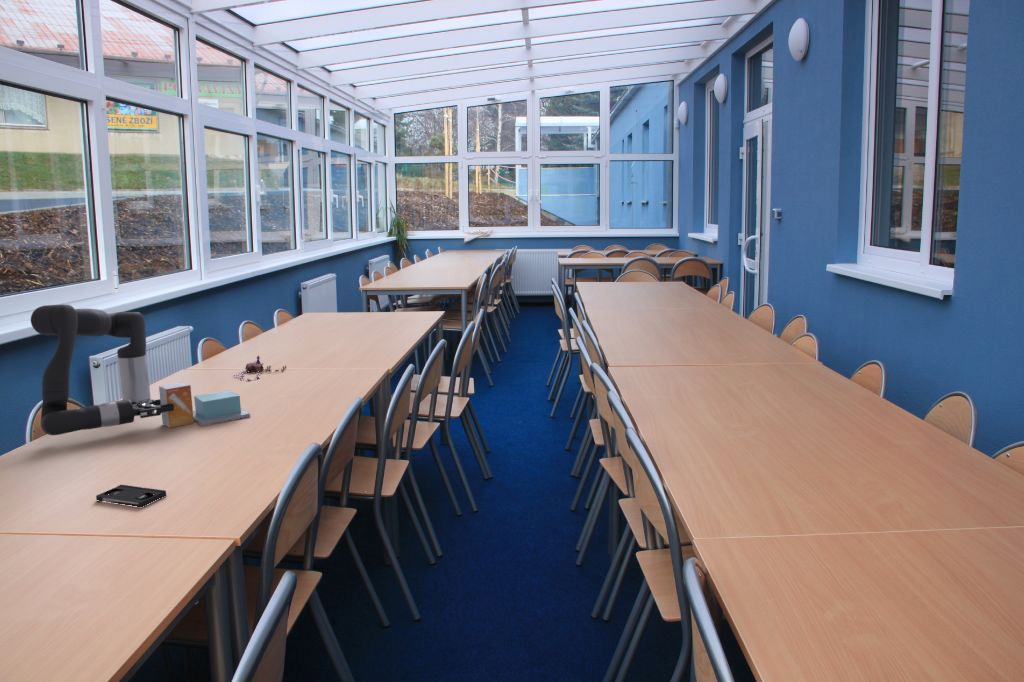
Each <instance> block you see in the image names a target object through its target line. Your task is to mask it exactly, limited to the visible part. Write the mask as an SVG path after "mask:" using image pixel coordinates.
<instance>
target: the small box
mask: <svg viewBox="0 0 1024 682" xmlns="http://www.w3.org/2000/svg"><path fill="white" fill-rule="evenodd" d="M158 393H159V399H160V402H161V405H166V404H173V405H174V410H173V411H168V412H162V413H161V421H162V425H164V426H166V427H167V428H176V427H178V426H179V427H180V426H184V425H185V424H186V425H190V423H191V424H194V422H195V421H194V419H193V411H194V409H193V407H194V406H193V399H192V398H193V397H192V386H191V384H189V383H186V382H184V381H181V382H177V383H169V384H165V385H159V386H158ZM186 425H185V426H186Z"/></svg>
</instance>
